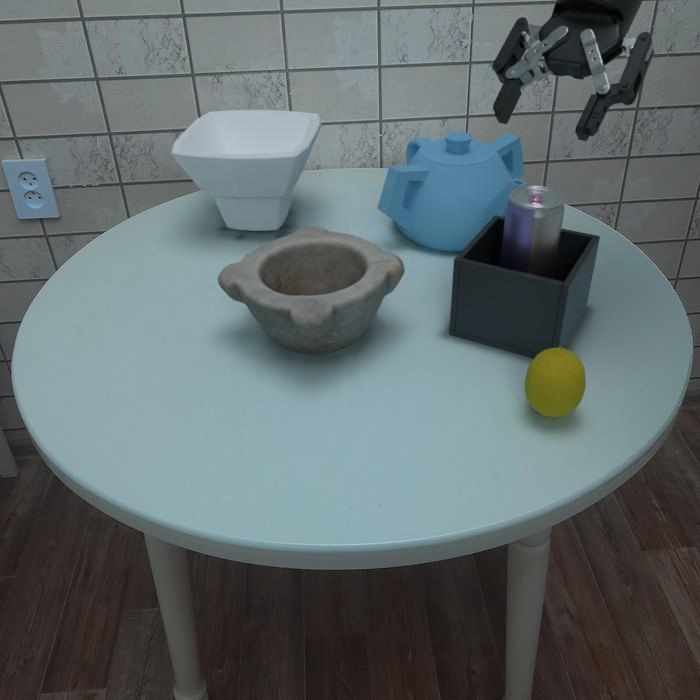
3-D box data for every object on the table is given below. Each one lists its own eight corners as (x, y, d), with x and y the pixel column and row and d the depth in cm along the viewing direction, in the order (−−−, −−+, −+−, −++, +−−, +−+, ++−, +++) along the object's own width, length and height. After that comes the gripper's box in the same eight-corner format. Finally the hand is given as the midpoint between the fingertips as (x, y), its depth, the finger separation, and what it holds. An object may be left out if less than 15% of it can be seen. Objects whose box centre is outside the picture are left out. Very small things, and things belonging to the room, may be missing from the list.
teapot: (376, 250, 100) (376, 153, 92) (401, 195, 115) (403, 108, 107) (517, 264, 96) (530, 164, 88) (524, 205, 111) (536, 115, 103)
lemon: (509, 415, 71) (517, 348, 66) (543, 390, 74) (553, 325, 69) (556, 443, 68) (568, 375, 63) (589, 416, 71) (604, 349, 66)
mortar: (214, 335, 84) (202, 266, 79) (320, 280, 93) (316, 215, 88) (312, 398, 74) (306, 324, 69) (419, 330, 84) (421, 260, 78)
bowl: (331, 198, 115) (327, 110, 106) (307, 256, 99) (301, 158, 91) (217, 194, 117) (205, 108, 109) (177, 250, 102) (159, 154, 93)
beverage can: (492, 327, 82) (505, 205, 74) (496, 300, 87) (509, 182, 78) (546, 333, 81) (566, 209, 72) (547, 305, 86) (566, 186, 77)
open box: (586, 309, 86) (600, 235, 81) (555, 364, 78) (569, 286, 72) (487, 285, 91) (494, 214, 86) (448, 334, 83) (453, 259, 77)
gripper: (533, -54, 71) (462, 94, 70) (681, -45, 63) (602, 121, 62) (551, -2, 77) (486, 133, 76) (687, 11, 69) (616, 162, 69)
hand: (539, 128), depth 69 cm, fingers open, 8 cm apart
